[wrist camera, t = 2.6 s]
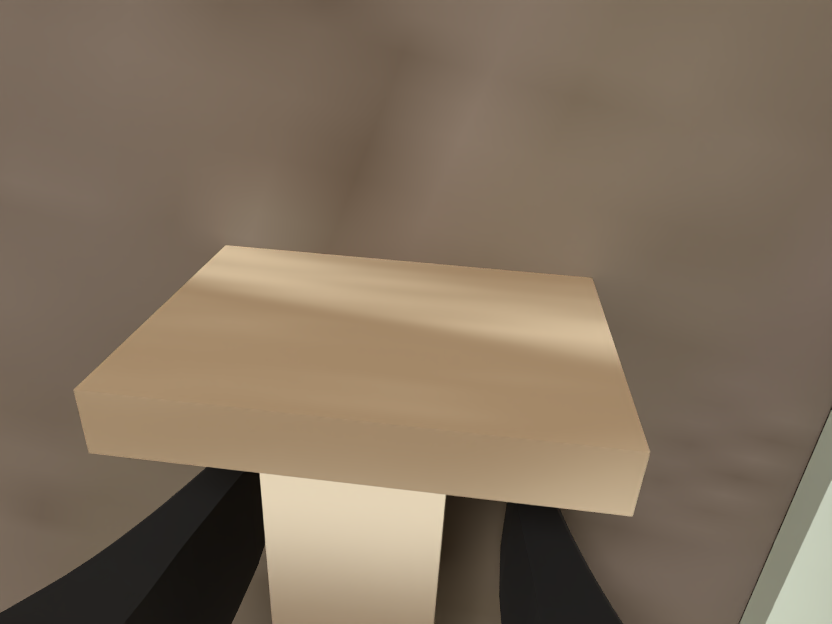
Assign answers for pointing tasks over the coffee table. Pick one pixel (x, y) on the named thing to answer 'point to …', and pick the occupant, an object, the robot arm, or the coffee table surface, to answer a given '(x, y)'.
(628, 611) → the coffee table surface
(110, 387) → the wooden t-shaped block
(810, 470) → the board
